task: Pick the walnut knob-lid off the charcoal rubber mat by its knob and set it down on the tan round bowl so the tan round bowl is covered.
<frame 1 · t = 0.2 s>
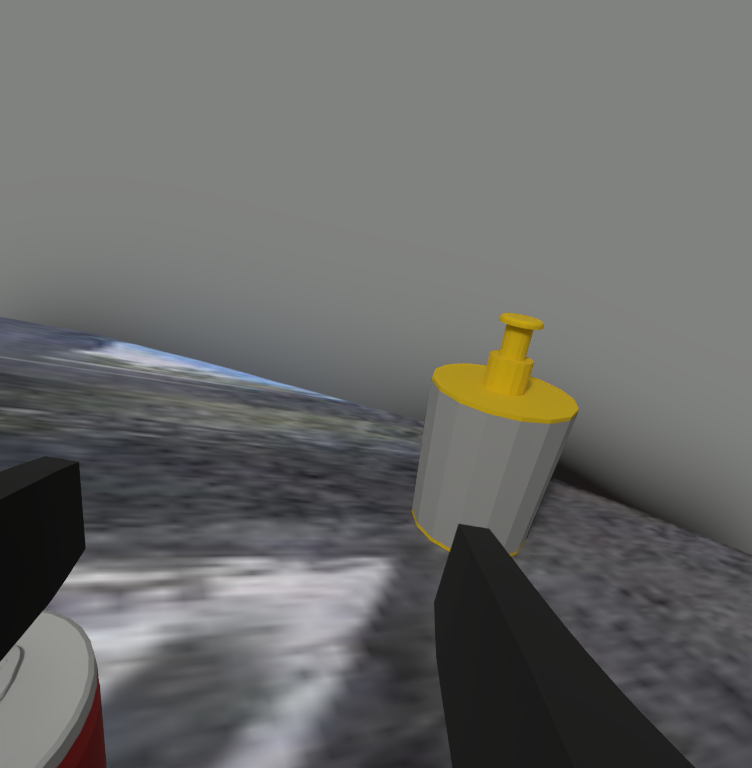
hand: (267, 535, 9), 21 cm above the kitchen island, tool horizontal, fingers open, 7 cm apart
soap bottle: (466, 521, 46), on the kitchen island
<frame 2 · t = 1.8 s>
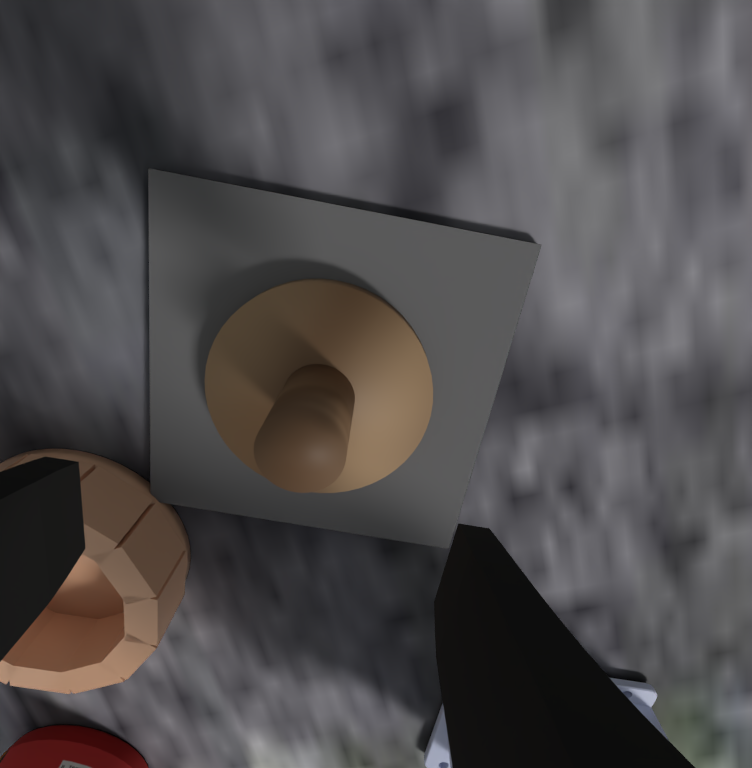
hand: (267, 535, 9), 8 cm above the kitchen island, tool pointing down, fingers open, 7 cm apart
canned food: (85, 761, 25), on the kitchen island
mat: (323, 384, 16), on the kitchen island
tan round bowl: (84, 541, 19), on the kitchen island
lid: (322, 388, 16), resting on mat
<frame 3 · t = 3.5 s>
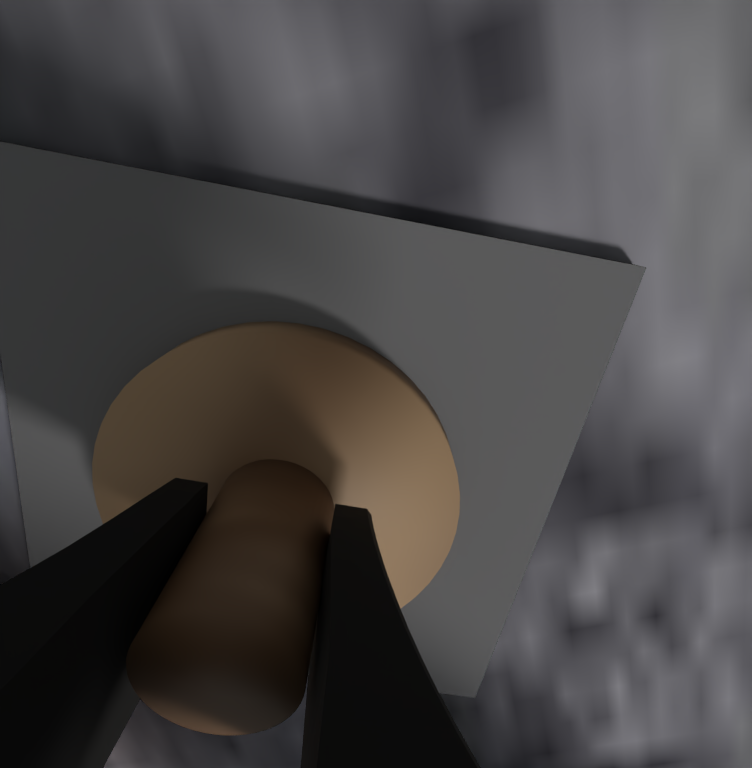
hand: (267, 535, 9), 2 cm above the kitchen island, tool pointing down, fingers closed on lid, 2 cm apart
mat: (288, 476, 10), on the kitchen island
lid: (284, 486, 10), resting on mat, touching gripper
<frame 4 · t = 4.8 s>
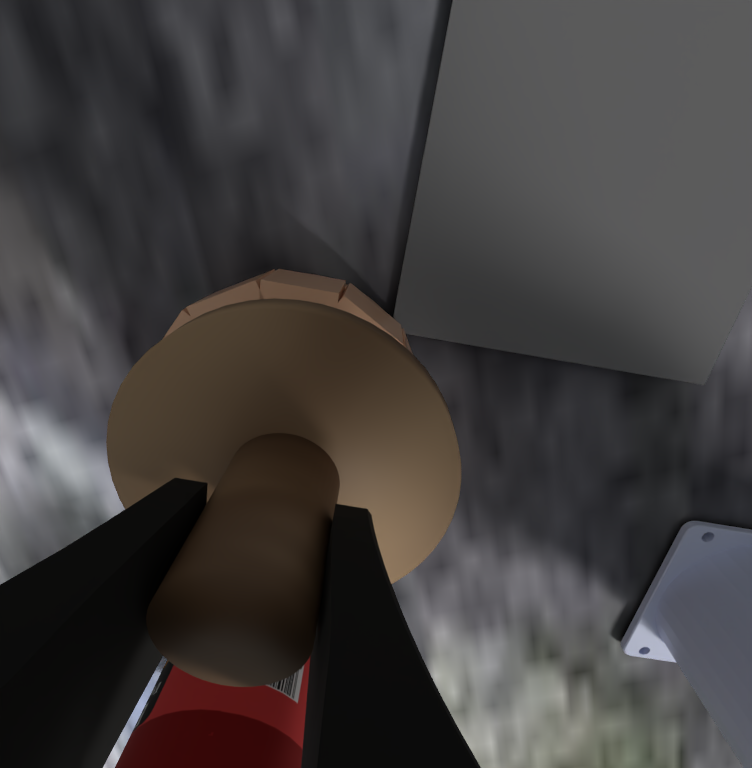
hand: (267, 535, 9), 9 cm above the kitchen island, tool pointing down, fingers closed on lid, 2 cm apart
canned food: (251, 658, 24), on the kitchen island
mat: (602, 184, 15), on the kitchen island
tan round bowl: (302, 388, 18), on the kitchen island
lid: (291, 460, 10), point 7 cm above the kitchen island, touching gripper
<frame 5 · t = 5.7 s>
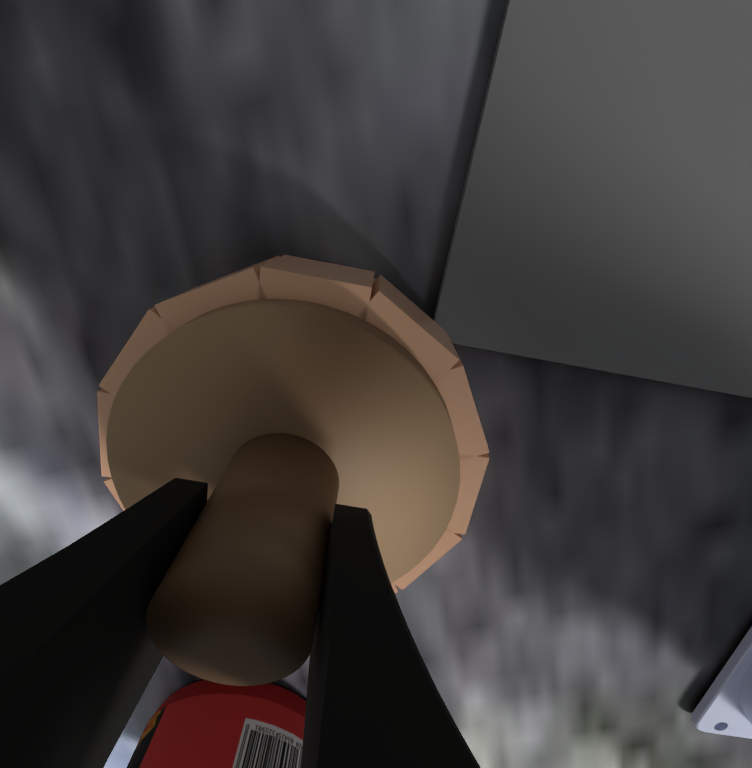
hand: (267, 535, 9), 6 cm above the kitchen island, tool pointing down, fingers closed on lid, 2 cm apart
canned food: (245, 725, 20), on the kitchen island
mat: (724, 145, 11), on the kitchen island
tan round bowl: (312, 410, 14), on the kitchen island
lid: (291, 460, 10), point 3 cm above the kitchen island, touching gripper
when the fingers open (6 cm above the kitchen island, at t = 6.3 s): lid stays where it is, resting on tan round bowl.
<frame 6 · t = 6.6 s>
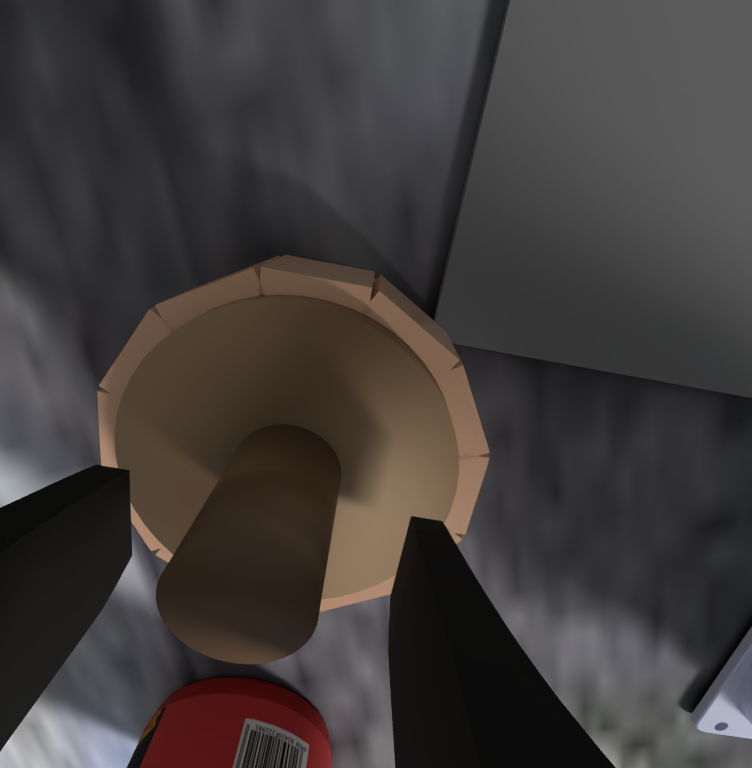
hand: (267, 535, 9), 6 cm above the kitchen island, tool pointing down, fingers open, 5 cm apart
canned food: (245, 725, 20), on the kitchen island
mat: (724, 145, 11), on the kitchen island
tan round bowl: (312, 410, 14), on the kitchen island
lid: (294, 453, 11), point 3 cm above the kitchen island, touching tan round bowl
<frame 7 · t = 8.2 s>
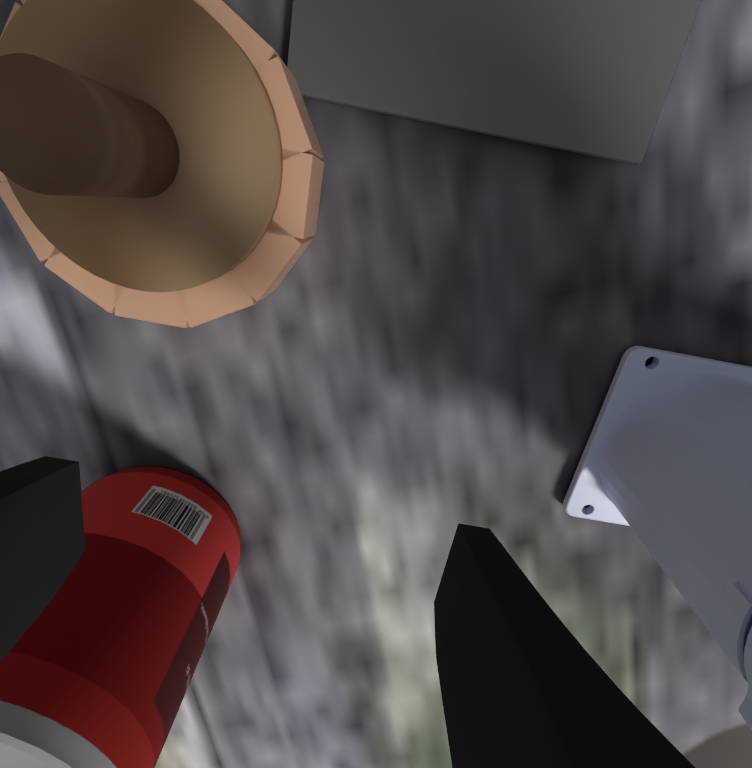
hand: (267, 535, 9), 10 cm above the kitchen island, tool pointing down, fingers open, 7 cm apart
canned food: (166, 525, 22), on the kitchen island
tan round bowl: (194, 174, 16), on the kitchen island
lid: (149, 152, 13), point 3 cm above the kitchen island, touching tan round bowl
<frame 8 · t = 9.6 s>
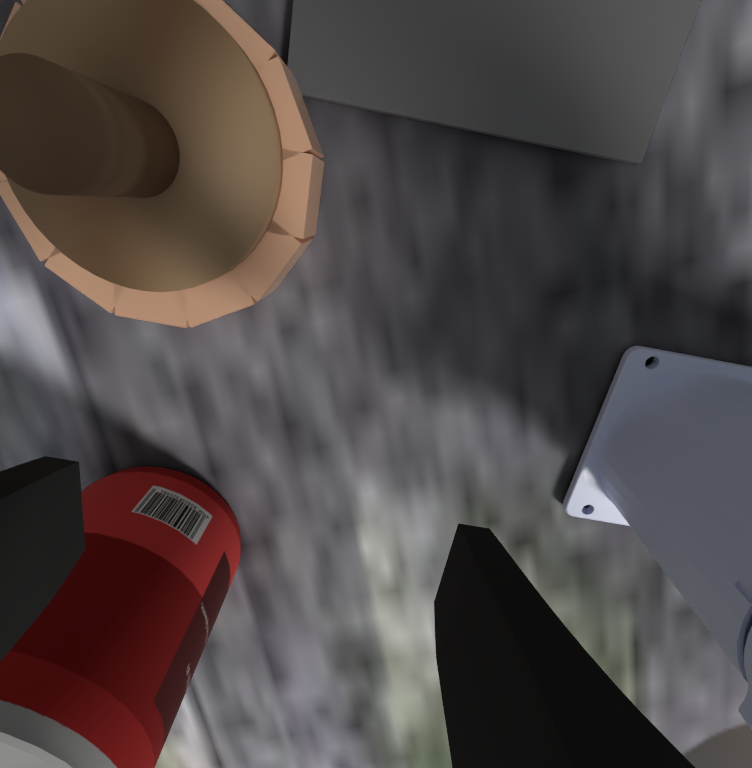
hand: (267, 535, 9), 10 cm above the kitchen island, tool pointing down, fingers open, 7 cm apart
canned food: (166, 525, 22), on the kitchen island
tan round bowl: (194, 174, 16), on the kitchen island
lid: (149, 152, 13), point 3 cm above the kitchen island, touching tan round bowl
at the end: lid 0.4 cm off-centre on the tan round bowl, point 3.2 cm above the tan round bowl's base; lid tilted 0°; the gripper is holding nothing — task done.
